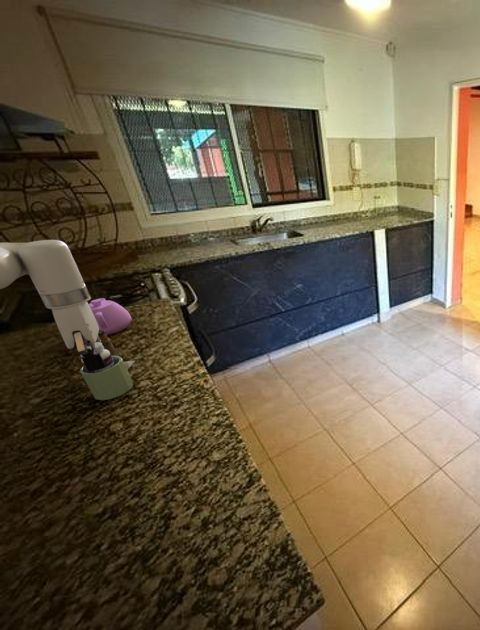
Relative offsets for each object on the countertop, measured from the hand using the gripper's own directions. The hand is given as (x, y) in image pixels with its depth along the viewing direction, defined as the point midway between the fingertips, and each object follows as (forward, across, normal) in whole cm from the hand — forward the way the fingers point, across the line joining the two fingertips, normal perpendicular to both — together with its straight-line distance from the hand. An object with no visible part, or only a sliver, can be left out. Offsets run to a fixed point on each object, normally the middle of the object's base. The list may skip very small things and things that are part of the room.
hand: (98, 362), depth 85 cm
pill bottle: (+5, 0, 0) cm, 5 cm away
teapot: (+9, -44, -4) cm, 46 cm away
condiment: (+9, -12, -1) cm, 15 cm away
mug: (+9, 0, 0) cm, 9 cm away
